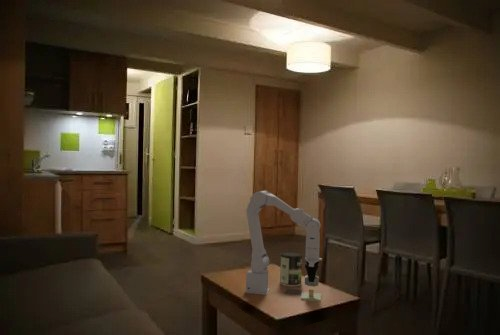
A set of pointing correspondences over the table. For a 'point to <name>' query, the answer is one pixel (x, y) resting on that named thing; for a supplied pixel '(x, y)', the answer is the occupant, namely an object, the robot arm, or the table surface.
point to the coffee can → (291, 268)
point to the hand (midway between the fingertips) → (311, 279)
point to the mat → (293, 292)
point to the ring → (312, 282)
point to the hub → (311, 296)
